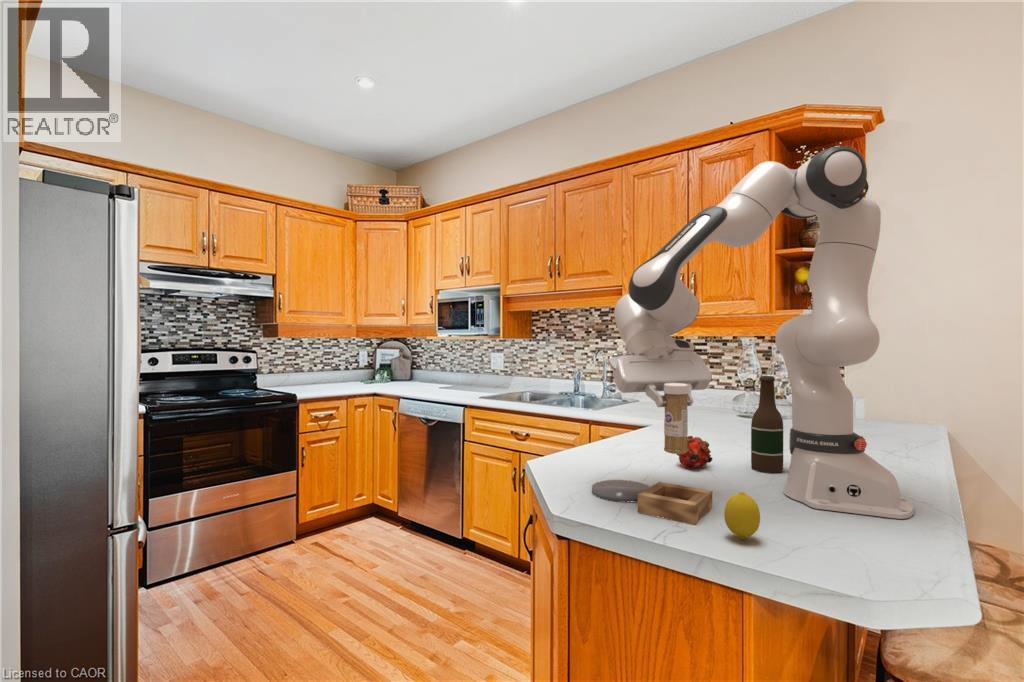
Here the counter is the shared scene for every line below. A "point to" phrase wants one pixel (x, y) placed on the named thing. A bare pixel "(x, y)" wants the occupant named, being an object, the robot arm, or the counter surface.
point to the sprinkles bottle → (676, 418)
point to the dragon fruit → (695, 453)
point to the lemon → (742, 515)
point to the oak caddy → (675, 502)
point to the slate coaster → (618, 490)
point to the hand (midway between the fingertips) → (676, 404)
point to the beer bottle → (767, 431)
